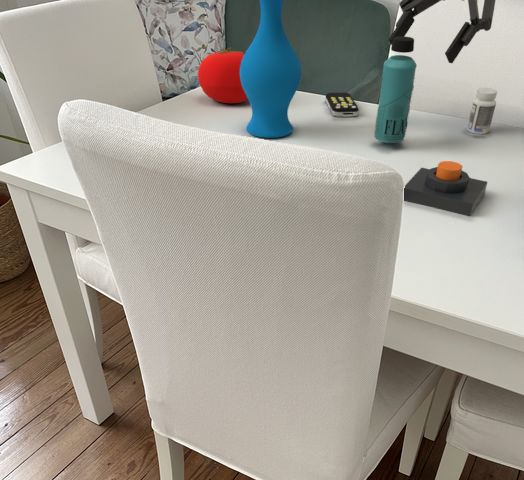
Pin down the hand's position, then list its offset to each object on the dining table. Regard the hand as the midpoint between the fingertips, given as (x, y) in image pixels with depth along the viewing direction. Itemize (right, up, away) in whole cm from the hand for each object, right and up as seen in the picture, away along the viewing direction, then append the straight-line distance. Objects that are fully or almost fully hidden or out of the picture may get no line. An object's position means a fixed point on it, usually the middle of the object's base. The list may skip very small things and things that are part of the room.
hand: (419, 51), depth 110 cm
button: (+2, -28, -12) cm, 30 cm away
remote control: (-11, 0, +26) cm, 29 cm away
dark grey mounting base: (+2, -31, -10) cm, 32 cm away
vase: (-29, -10, +14) cm, 34 cm away
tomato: (-39, +3, +30) cm, 49 cm away
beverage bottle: (-4, -15, +9) cm, 18 cm away
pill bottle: (+17, -10, +15) cm, 25 cm away
